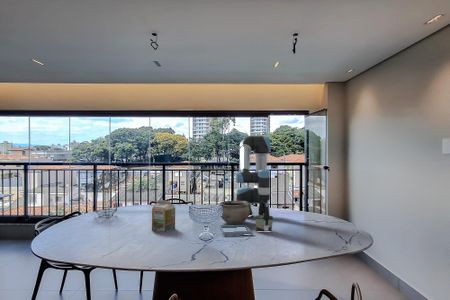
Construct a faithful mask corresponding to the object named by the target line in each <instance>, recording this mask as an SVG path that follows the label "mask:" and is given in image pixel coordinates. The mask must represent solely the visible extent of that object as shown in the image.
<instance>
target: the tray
mask: <svg viewBox="0 0 450 300" xmlns="http://www.w3.org/2000/svg"><path fill="white" fill-rule="evenodd" d="M237 227H245V228H246V230H247V231H234V232H224V231H223V229H222V228H237ZM219 228H220V230H221V232H222V233H221V232H220V233H221V235H222V234H223V235H244V234H252V233H253V232H252V230H251V229H250V228H249V227H248V226H247V225H246V224H222V225H221V224H219ZM219 228H218V229H219ZM220 230H219V231H220ZM223 235H222V236H223Z"/></svg>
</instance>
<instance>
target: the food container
mask: <svg viewBox="0 0 450 300" xmlns="http://www.w3.org/2000/svg"><path fill="white" fill-rule="evenodd" d="M269 216H270V220H269V227H268V231H271V232H272V229H273V223H274V222H273V221H274V216H272V215H269ZM254 220H255V230H256V231H264V215H259V214H258V215H254Z"/></svg>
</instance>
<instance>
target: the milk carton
mask: <svg viewBox="0 0 450 300" xmlns="http://www.w3.org/2000/svg"><path fill="white" fill-rule="evenodd" d="M173 229H174V230H176V206H175V205H173V204H172V203H171V201H170V200H161V199H157V202H156V203H155V204H154V205H153V206H152V208H151V231H152V232H156V233H157V232H158V233H163V232H164V234H165V232H166V233H168V232H170V230H171V231H174V230H173ZM167 231H168V232H167Z"/></svg>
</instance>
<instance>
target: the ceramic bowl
mask: <svg viewBox="0 0 450 300" xmlns="http://www.w3.org/2000/svg"><path fill="white" fill-rule="evenodd" d="M218 204H219V206H222V207H223V213H222V216H220V218H221V219H222V220H223V221H224V222H225V223H227V224H229V223H230V224H229V225H241V224H240V223H242V224H243V223H245V222H246V221H247V219H248V216H249V203H248V202H246V201H236V200H226V201H225V200H223V201H221V202H219V203H218Z"/></svg>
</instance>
